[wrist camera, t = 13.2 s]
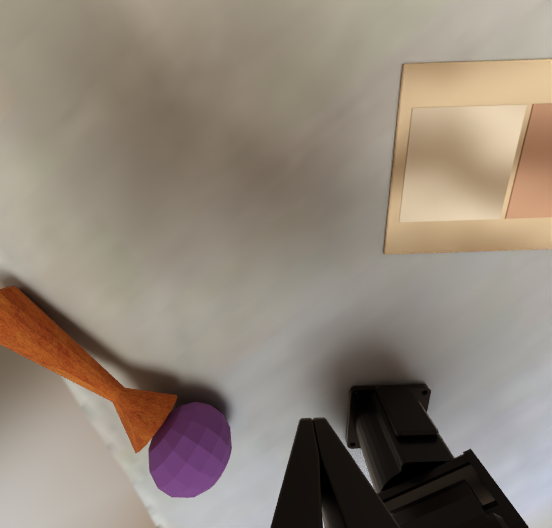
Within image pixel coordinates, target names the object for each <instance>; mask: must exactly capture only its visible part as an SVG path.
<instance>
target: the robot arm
mask: <svg viewBox="0 0 552 528" xmlns="http://www.w3.org/2000/svg"><path fill="white" fill-rule="evenodd" d="M355 393H356V394H355ZM430 394H431V390H430V389H429V388H428V386H427V385H425V384H411V385H381V386H355V387H352V388H351V389H350V391H349V405H348V419H347V432H346V443H347V446H348V447H349V448H352V449H354V448H361V450H362V453H363V456H364V459H365V462H366V465H367V468H368V471H369V474H370V478H371V481H372V484H373V487H374V489H373V487H372V486H371V484H370V483H369V481H368V480H367V478H366V477H365V475H364V474H363V473H362V471H361V470H360V468H359V467H358V465H357V464H356V462H355V461H354V459H353V458H352V456H351V455H350V453H349V452H348V451H347V449H346V448H345V446H344V445H343V443H342V442H341V440H340V439H339V437H338V436H337V434H336V433H335V431H334V430H333V429H332V427H331V426H330V424H329V423H328V421H327V420H326V419H325V418H314V419H313V420H312V419H311V418H301V419H300V421H299V424H298V428H297V432H296V435H295V439H294V443H293V446H292V450H291V454H290V457H289V461H288V465H287V469H286V472H285V476H284V480H283V483H282V487H281V491H280V494H279V498H278V502H277V506H276V509H275V513H274V517H273V520H272V524H271V528H323V522H322V516H323V521H324V526H325V528H529V527H528V526H527V524H526V523H525V522H524V520H523V519H522V518H521V516H520V515H519V513H518V512H517V511H516V509H515V508H514V507H513V505H512V504H511V503H510V501H509V500H508V499H507V497H506V496H505V495H504V493H503V492H502V490H501V489H500V488H499V486H498V485H497V484H496V482H495V481H494V480H493V478H492V477H491V476H490V474H489V473H488V472H487V470H486V469H485V467H484V466H483V465H482V463H481V462H480V461H479V459H478V458H477V457H476V455H475V454H474V453H473V451H472V450H471V449H469V450H467V451H465V452H463V455H460V456H458V457H456V458H454V456H453V455H452V453H451V452H450V450H449V449H448V447H447V446H446V444H445V442H444V441H443V439H442V438H441V436H440V435H439V432H438V429H437V428H436V426H435V425H434V423H433V422H432V420H431V419H430V417H429V416H428V414H427V409H428V404H429V399H430Z"/></svg>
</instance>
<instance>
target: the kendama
mask: <svg viewBox="0 0 552 528" xmlns="http://www.w3.org/2000/svg"><path fill="white" fill-rule="evenodd" d="M0 344H1V345H3V346H5V347H6V348H8V349H10V350H12V351H14V352H16V353H18V354H20V355H22V356H24V357H26V358H28V359H30V360H32V361H34V362H36V363H38V364H40V365H42V366H43V367H46V368H48V369H49V370H51V371H53V372H55V373H57V374H59V375H61V376H63V377H65V378H67V379H69V380H71V381H73V382H75V383H77V384H79V385H81V386H82V387H84V388H86V389H88V390H90V391H92V392H94V393H96V394H98V395H100V396H102V397H104V398H106V399H108V400H110V401H112V402H113V404H114V406H115V408H116V411H117V413H118V415H119V417H120V419H121V422H122V424H123V426H124V428H125V430H126V433H127V435H128V437H129V439H130V441H131V444H132V446H133V448H134V450H135V453H137V452H139V451H140V450H141V449H142V448H143V447H144V446H145V445H146V444H147V443H148V442H149V441H150V440H151V438H152V437H153V438H152V441H151V444H150V447H149V469H150V473H151V475H152V477H153V479H154V481H155V483H156V485H157V487H158V489H160V490H161V491H163V492H165V493H166V494H168V495H169V496H171V497H185V498H190V497H195V496H197V495H199V494H201V493H203V492H205V491H207V490H208V489H210V488H211V487H212V486H213V485H214V484H215V483H216V482H217V480H218V479H219V478H220V476H221V475H222V473H223V471H224V469H225V468H226V465H227V463H228V460H229V458H230V454H231V450H232V446H231V433H230V426H229V424H228V423H227V421H226V419H225V417H224V415H223V414H222V413H221V412H219V411H218V410H217V409H215V408H214V407H213V406H211V405H210V404H206V403H201V402H191V403H188V404H184V405H180V406H179V407H177V408H176V409H174V410H173V411H172V412H171V410H172V408H173V406H174V404H175V403H176V400H177V397H178V396H177V395H172V394H165V393H158V392H151V391H144V390H137V389H130V388H124V387H123V386H122V385H121V384H120V383H119V382H118V381H117V380H116V379H115V378H114V377H113V376H112V375H111V374H109V373H108V372H107V371H106V370H105V369H104V368H103V367H102V366H101V365H100V364H99V363H98V362H97V361H96V360H94V359H93V358H92V357H91V356H90V355H89V354H88V353H87V352H86V351H85V350H84V349H83V348H82V347H81V346H79V345H78V344H77V343H76V342H75V341H74V340H73V339H72V338H71V337H70V336H69V335H68V334H67V333H66V332H64V331H63V330H62V329H61V328H60V327H59V326H58V325H57V324H56V323H55V322H54V321H53V320H52V319H51V318H49V317H48V316H47V315H46V314H45V313H44V312H43V311H42V310H41V309H40V308H39V307H38V306H37V305H36V304H34V303H33V302H32V301H31V300H30V299H29V298H28V297H27V296H26V295H25V294H24V293H23V292H22V291H21V290H19V289H18V288H17V287H15V286H13V287H6V288H3V289H0Z"/></svg>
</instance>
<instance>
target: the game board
mask: <svg viewBox="0 0 552 528" xmlns="http://www.w3.org/2000/svg"><path fill="white" fill-rule="evenodd" d="M534 249H552V59H540V60H509V61H478V62H448V63H417V64H404V65H403V69H402V79H401V88H400V98H399V108H398V118H397V127H396V137H395V147H394V157H393V167H392V176H391V186H390V196H389V206H388V215H387V225H386V235H385V245H384V254H413V253H443V252H473V251H503V250H534Z"/></svg>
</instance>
